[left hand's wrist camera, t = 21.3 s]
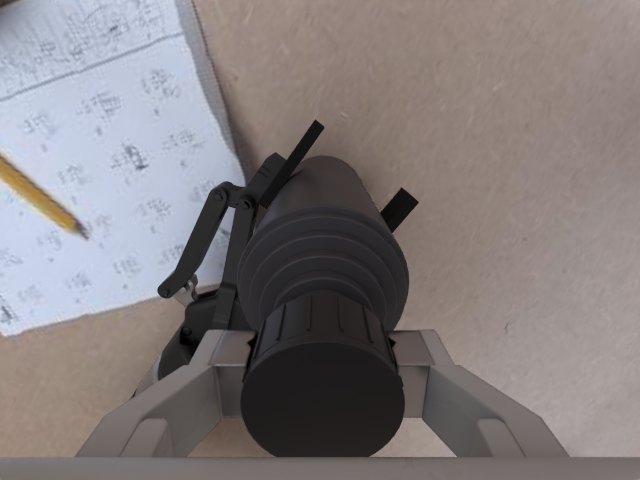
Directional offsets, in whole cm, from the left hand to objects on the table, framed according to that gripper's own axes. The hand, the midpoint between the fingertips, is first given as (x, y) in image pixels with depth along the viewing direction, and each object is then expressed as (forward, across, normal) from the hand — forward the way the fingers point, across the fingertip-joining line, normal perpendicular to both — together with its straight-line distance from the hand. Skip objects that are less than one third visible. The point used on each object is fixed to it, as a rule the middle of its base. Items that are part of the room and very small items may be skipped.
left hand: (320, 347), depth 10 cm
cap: (-2, 0, 0) cm, 2 cm away
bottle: (+21, 0, 0) cm, 21 cm away
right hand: (+15, -3, -4) cm, 16 cm away
